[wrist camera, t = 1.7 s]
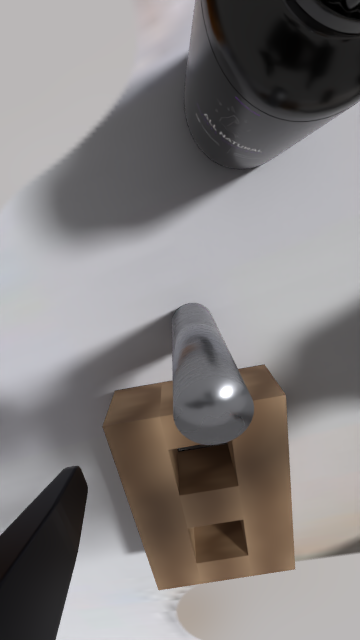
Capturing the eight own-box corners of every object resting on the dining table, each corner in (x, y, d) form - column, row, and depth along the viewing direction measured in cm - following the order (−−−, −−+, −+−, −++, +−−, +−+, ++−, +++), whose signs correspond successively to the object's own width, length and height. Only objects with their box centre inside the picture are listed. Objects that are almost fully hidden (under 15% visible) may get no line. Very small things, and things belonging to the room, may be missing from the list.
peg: (209, 299, 19) (250, 370, 9) (215, 337, 19) (257, 437, 10) (168, 307, 19) (165, 385, 9) (176, 344, 20) (180, 450, 10)
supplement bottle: (191, 180, 16) (240, 57, 5) (175, 37, 14) (197, -851, 2) (301, 163, 16) (625, -3, 5) (304, 17, 14) (943, -1005, 2)
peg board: (264, 364, 20) (285, 394, 17) (277, 520, 26) (294, 569, 22) (114, 390, 21) (102, 426, 17) (160, 538, 27) (158, 590, 23)
